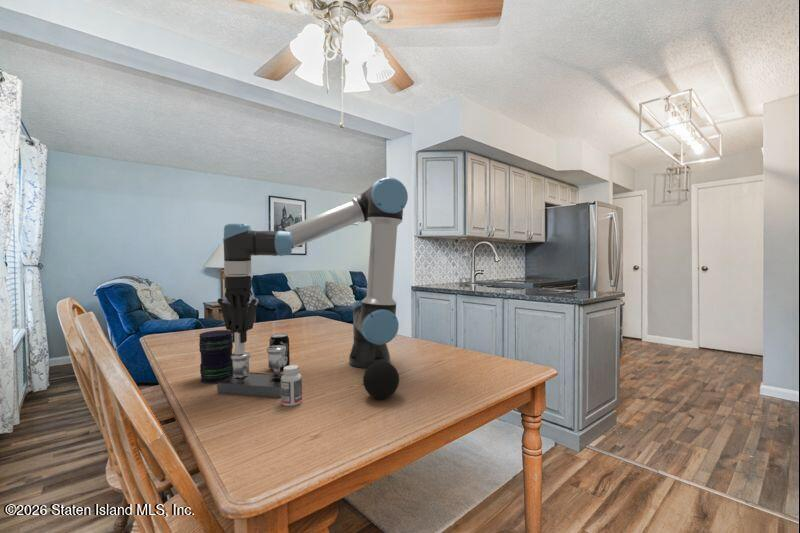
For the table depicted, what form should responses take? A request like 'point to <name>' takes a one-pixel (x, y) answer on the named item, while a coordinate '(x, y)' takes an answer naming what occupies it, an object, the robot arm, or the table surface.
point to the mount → (252, 385)
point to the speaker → (381, 379)
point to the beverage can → (281, 340)
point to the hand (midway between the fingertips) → (239, 353)
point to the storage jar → (216, 356)
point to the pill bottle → (291, 386)
